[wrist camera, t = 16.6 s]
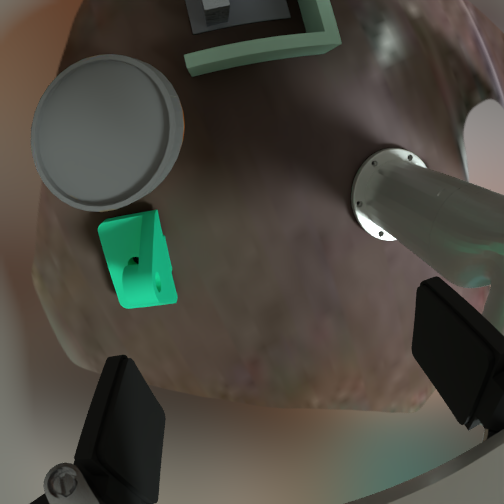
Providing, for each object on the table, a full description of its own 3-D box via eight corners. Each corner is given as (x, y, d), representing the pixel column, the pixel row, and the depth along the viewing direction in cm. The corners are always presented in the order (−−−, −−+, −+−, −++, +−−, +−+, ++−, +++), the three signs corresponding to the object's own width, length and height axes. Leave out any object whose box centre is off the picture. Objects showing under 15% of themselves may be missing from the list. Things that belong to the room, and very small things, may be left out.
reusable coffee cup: (76, 147, 33) (7, 167, 20) (130, 58, 30) (80, 26, 16) (158, 199, 37) (124, 245, 23) (217, 110, 34) (215, 102, 20)
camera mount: (102, 217, 37) (70, 248, 28) (158, 207, 38) (139, 235, 28) (126, 299, 42) (106, 345, 33) (178, 292, 43) (169, 339, 33)
